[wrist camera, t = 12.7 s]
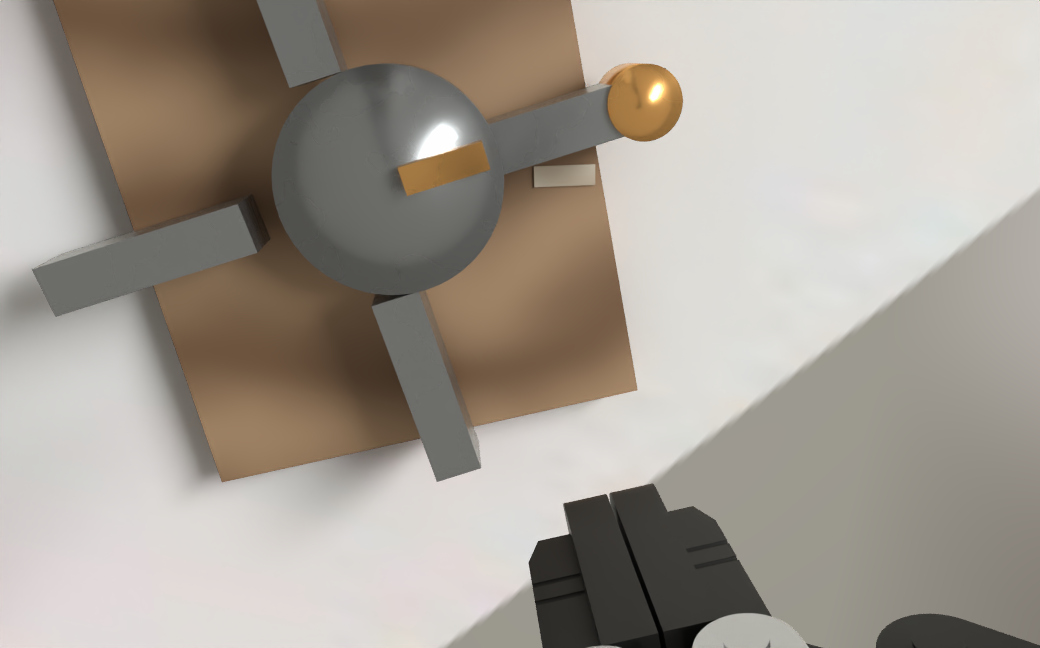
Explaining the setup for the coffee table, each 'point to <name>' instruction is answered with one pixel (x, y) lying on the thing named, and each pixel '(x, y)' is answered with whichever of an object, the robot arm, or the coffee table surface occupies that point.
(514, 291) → the stand board
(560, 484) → the coffee table surface
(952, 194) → the coffee table surface
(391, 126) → the spoked handwheel
